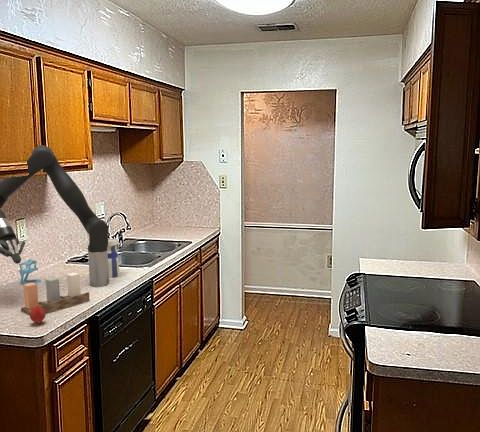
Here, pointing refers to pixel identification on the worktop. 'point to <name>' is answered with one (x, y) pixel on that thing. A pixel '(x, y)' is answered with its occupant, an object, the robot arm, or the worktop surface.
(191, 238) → the worktop surface
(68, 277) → the cream rectangular block
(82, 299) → the wooden divided tray
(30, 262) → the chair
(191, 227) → the worktop surface
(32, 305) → the orange block
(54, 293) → the grey rectangular block
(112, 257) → the water bottle
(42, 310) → the onion
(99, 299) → the worktop surface
